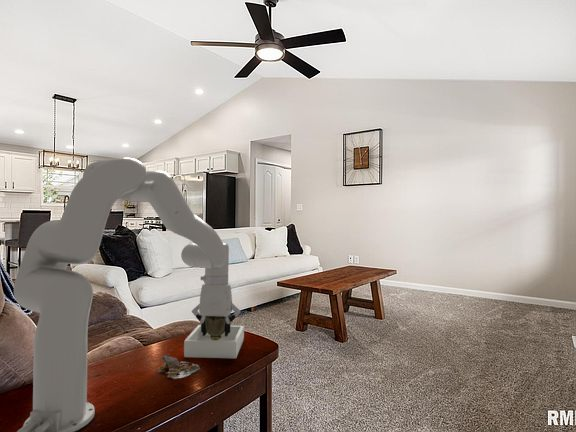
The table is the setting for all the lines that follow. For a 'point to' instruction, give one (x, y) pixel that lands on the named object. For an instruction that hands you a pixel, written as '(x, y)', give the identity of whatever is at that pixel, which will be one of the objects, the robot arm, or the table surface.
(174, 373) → the frog figurine
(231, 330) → the bin
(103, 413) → the table surface
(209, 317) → the embossed bronze vase
